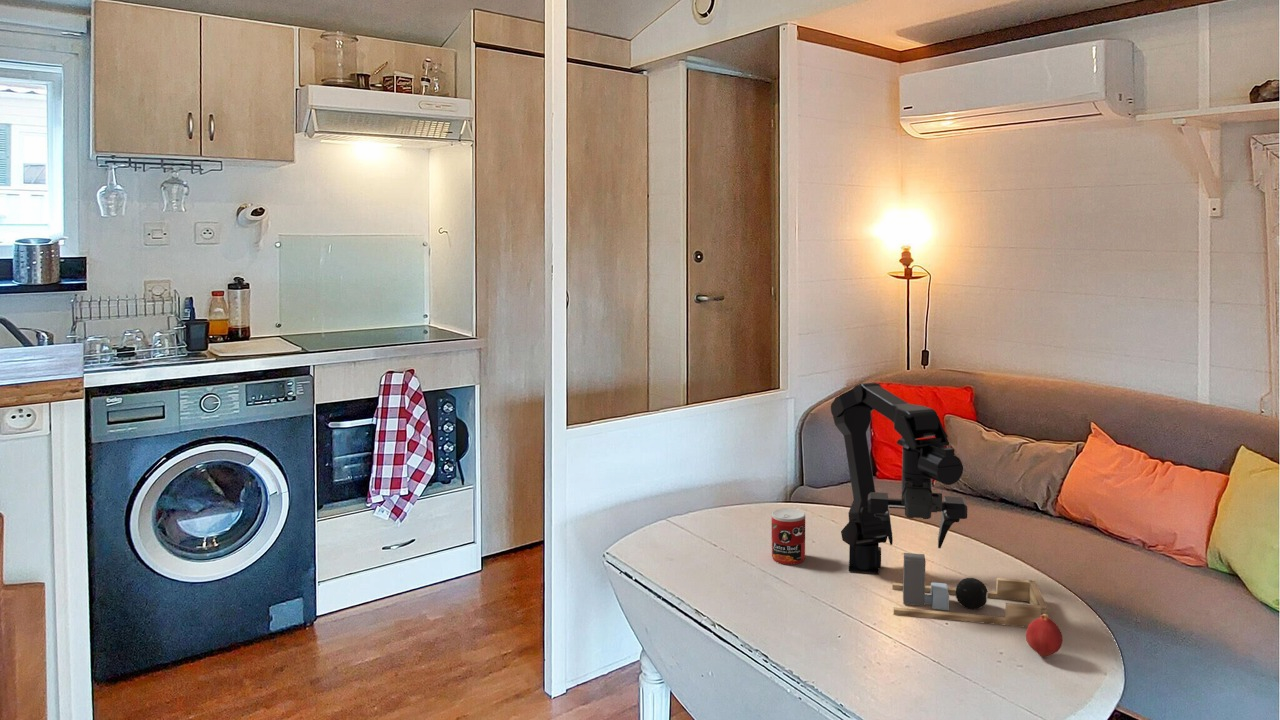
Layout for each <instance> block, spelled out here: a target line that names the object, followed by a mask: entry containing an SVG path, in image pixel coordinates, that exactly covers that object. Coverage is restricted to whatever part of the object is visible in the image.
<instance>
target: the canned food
mask: <svg viewBox="0 0 1280 720" xmlns="http://www.w3.org/2000/svg"><path fill="white" fill-rule="evenodd" d="M771 557H772V561H774V562H775V561H776V563H777V562H778V564H780V563H781V565H787V564H788V565H789V566H790V565H791V564H793V565H797V564H801V563H802V562H804V560H805V558H806V513H805V512H804V511H803V510H801V509H797V508H789V507H788V508H784V507H783V508H778V509H775V510H773V511H772V513H771ZM791 566H792V565H791Z"/></svg>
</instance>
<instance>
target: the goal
mask: <svg viewBox="0 0 1280 720" xmlns="http://www.w3.org/2000/svg"><path fill="white" fill-rule="evenodd" d="M996 592H997V598H1001V599H1000V600H1008V599H1013V600H1012V601H1019V600H1021V601H1022V602H1029V604H1025V603H1013V602H1005V611H1004V612H1005V614H1004V615H1005V616H1004V617H1005V618H1006V625H1005V626H1009V625H1013V627H1019V626H1024V627H1023V628H1028V626H1029V624H1030V623H1031V622H1032V621H1034V620H1035V619H1037V618H1040V617H1041V615H1042V614H1046V615H1048V616H1049V608H1048V605H1047V604H1046V601H1045V599H1044V596H1043V595H1042V593H1041V591H1040V588H1039V587H1038V584H1037V582H1036V580H1031V579H1030V580H1029V579H1028V580H1027V579H1017V578H1005V577H996ZM1021 601H1020V602H1021Z"/></svg>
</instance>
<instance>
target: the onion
mask: <svg viewBox="0 0 1280 720" xmlns="http://www.w3.org/2000/svg"><path fill="white" fill-rule="evenodd" d="M1026 628H1027V629H1026V632H1025V639H1026V641H1027V643H1028V645H1029V647H1030V648H1031V649H1032V650H1033V651H1034V652H1036V653H1037V654H1038V656H1039V657H1041V658H1043V659H1044V658H1048V657H1050V656H1052V655H1054V654H1056V653H1057V652H1059V650H1061V647H1062V645H1063V639H1064V638H1063V633H1062V631H1061V628H1060V627H1059V625H1057V624H1056V622H1055V621H1054V620H1052V619H1051V618H1050V617H1049V614H1048V615H1046V614H1042V615H1041V617H1040V618H1037V619H1035V620H1034V621H1032V622H1031V623H1030V624H1029V626H1028V627H1026Z"/></svg>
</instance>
